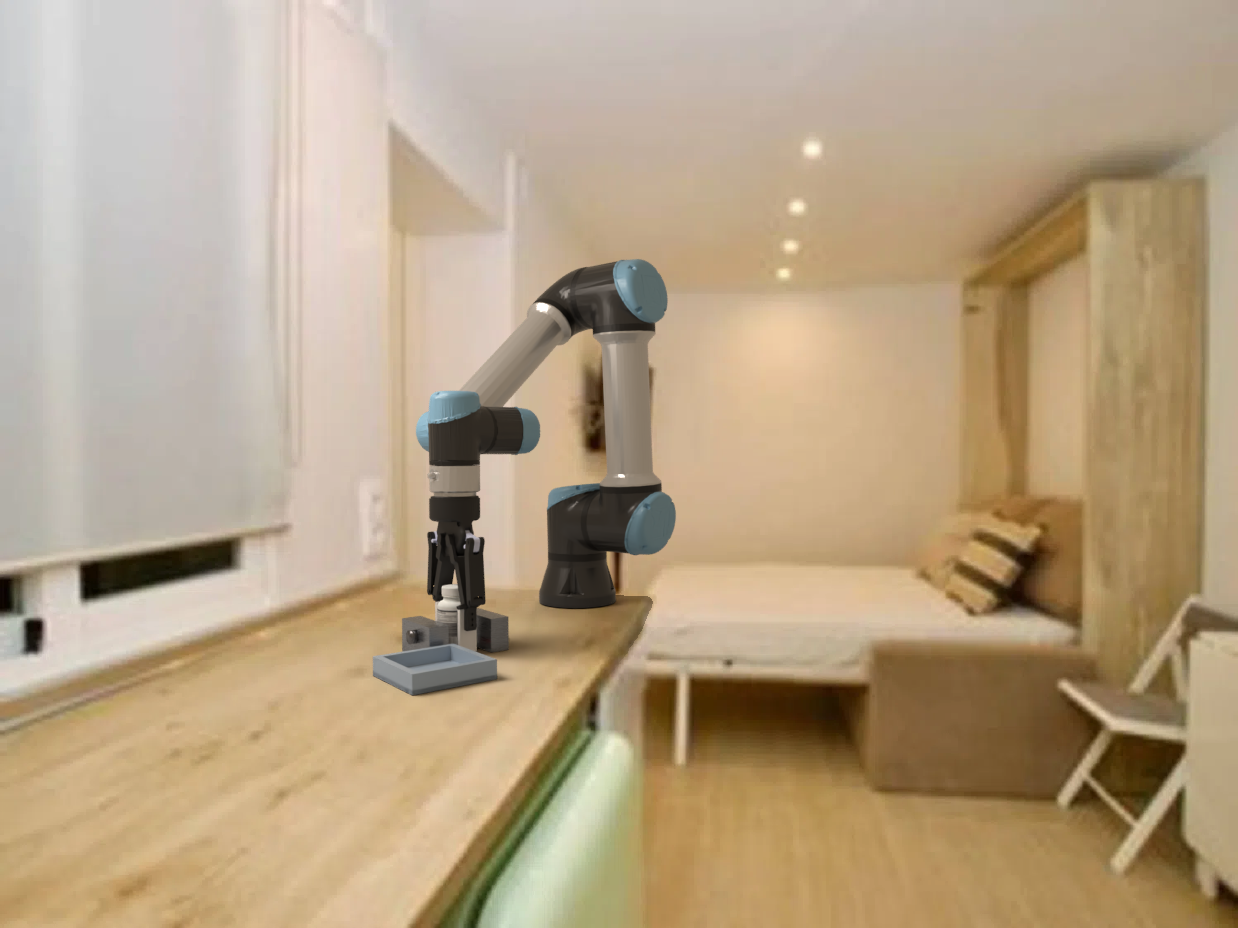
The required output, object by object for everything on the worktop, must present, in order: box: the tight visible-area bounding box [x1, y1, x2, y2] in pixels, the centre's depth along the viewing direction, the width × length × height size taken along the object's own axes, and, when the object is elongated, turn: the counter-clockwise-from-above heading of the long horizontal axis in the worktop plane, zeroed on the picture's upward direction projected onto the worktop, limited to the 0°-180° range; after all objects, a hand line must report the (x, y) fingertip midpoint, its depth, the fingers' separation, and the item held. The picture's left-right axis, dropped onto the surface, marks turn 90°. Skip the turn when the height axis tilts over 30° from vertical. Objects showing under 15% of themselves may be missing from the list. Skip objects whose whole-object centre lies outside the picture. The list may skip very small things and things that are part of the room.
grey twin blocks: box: [401, 607, 510, 653], centre depth 130 cm, size 15×9×5 cm, turn 129°
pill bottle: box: [437, 583, 461, 645], centre depth 130 cm, size 5×5×10 cm
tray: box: [372, 644, 498, 696], centre depth 115 cm, size 12×12×3 cm
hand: (455, 647), depth 130 cm, fingers open, 6 cm apart
